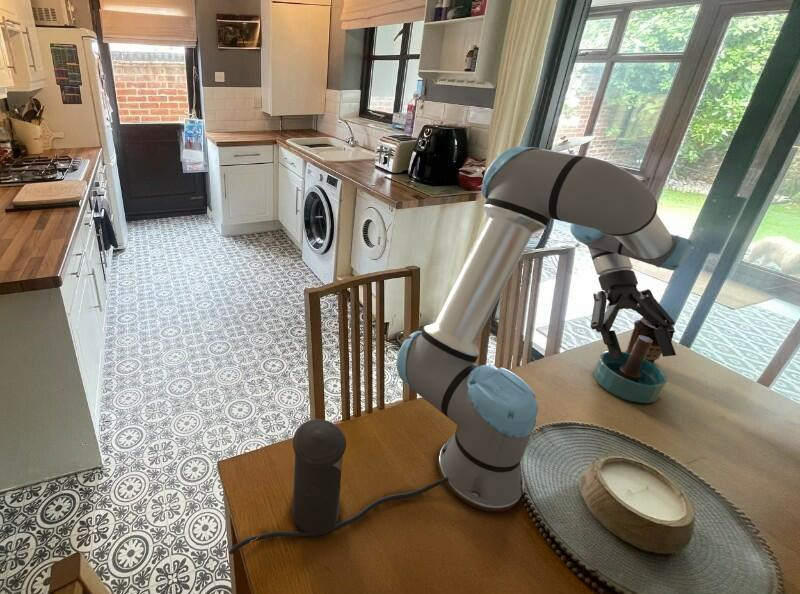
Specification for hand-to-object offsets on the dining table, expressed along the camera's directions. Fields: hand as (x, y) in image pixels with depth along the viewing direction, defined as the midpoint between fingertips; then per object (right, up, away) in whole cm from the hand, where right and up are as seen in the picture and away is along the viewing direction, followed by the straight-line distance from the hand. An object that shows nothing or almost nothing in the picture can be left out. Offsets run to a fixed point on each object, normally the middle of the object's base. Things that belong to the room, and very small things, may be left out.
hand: (643, 357), depth 98 cm
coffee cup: (+12, -5, +15) cm, 19 cm away
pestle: (+1, -8, +6) cm, 10 cm away
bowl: (+1, -9, +6) cm, 11 cm away
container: (-81, -23, -23) cm, 87 cm away
